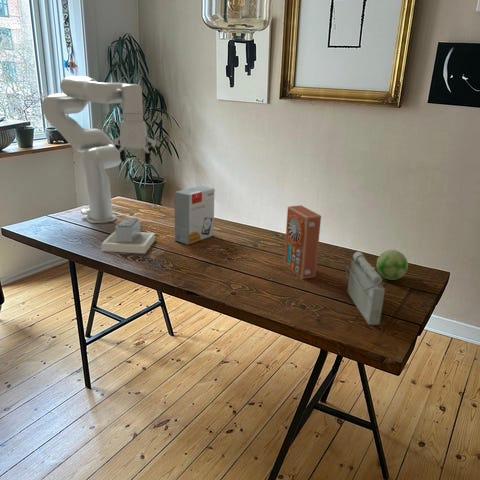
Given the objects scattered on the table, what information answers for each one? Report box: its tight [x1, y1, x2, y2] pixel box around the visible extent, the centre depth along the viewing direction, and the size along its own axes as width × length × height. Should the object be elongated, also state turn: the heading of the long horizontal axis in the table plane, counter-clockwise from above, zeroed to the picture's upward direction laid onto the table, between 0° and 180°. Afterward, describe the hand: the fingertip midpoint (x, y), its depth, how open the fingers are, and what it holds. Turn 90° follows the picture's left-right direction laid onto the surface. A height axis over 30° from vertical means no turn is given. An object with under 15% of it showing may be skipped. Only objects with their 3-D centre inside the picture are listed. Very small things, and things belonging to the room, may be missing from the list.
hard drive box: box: [173, 185, 215, 246], centre depth 179 cm, size 16×8×20 cm, turn 143°
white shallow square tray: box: [101, 230, 156, 255], centre depth 172 cm, size 16×14×3 cm
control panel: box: [283, 205, 322, 280], centre depth 152 cm, size 21×7×15 cm
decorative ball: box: [376, 249, 409, 281], centre depth 150 cm, size 10×10×10 cm
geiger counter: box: [345, 251, 386, 326], centre depth 132 cm, size 14×6×25 cm
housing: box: [115, 217, 142, 243], centre depth 171 cm, size 10×6×6 cm, turn 174°
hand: (135, 162), depth 181 cm, fingers open, 9 cm apart
